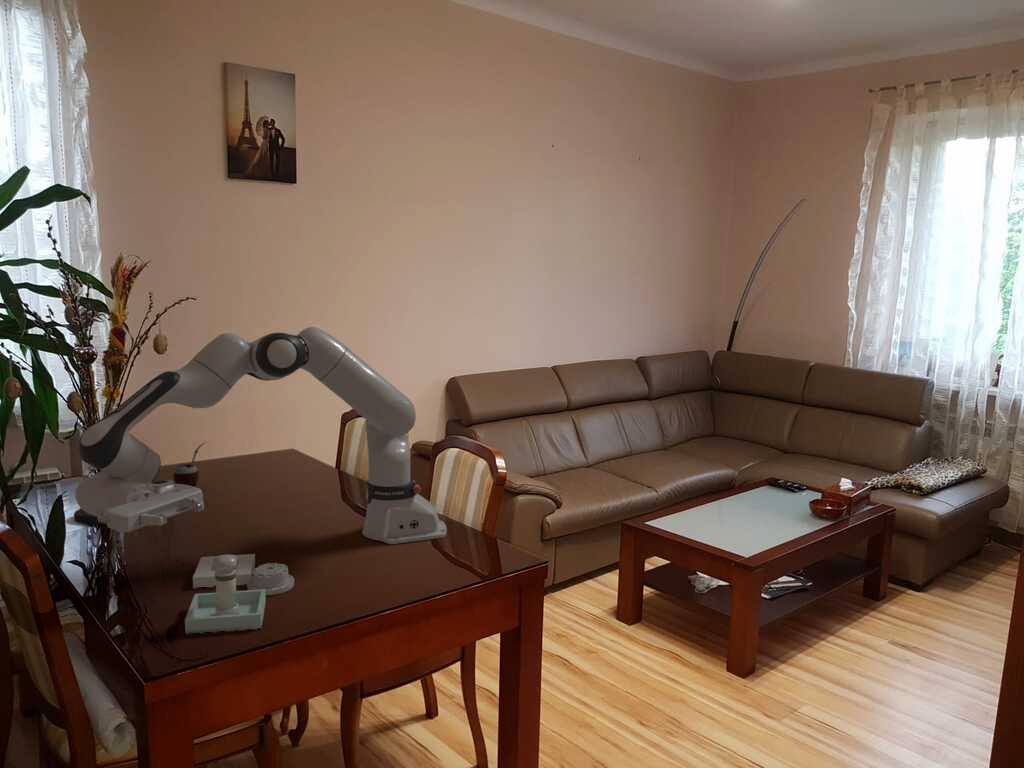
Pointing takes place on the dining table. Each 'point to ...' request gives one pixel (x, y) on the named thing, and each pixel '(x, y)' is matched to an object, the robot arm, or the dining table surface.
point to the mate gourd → (187, 473)
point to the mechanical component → (271, 579)
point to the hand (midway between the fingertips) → (183, 513)
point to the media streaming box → (86, 518)
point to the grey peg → (226, 585)
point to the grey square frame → (206, 573)
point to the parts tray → (206, 620)
